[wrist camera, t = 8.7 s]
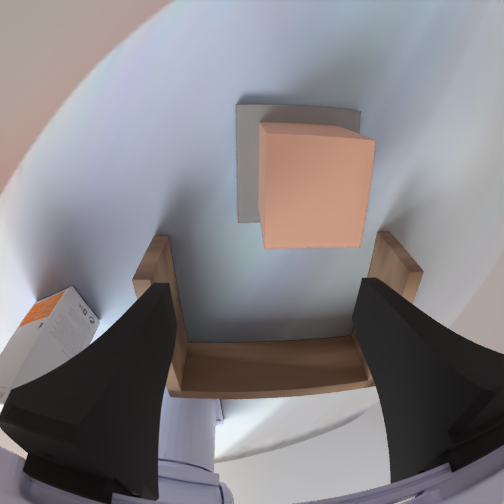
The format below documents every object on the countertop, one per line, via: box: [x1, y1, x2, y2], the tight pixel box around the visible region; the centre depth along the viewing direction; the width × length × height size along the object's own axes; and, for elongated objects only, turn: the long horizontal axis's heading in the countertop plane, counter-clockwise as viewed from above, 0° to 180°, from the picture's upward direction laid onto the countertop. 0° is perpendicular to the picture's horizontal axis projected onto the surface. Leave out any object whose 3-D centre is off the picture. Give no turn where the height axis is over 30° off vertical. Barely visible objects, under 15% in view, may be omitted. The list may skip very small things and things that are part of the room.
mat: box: [236, 104, 361, 223], centre depth 17 cm, size 7×7×1 cm
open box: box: [132, 232, 424, 399], centre depth 20 cm, size 11×16×5 cm
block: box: [258, 122, 376, 249], centre depth 14 cm, size 5×4×5 cm
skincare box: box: [0, 286, 100, 413], centre depth 17 cm, size 6×4×12 cm
